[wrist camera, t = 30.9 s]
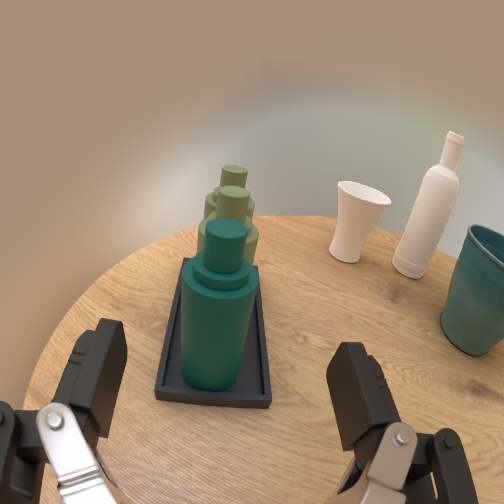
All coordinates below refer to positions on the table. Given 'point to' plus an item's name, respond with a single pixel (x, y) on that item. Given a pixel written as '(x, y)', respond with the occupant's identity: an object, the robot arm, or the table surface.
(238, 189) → the green bottle
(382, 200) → the cup
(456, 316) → the flower pot
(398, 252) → the bottle
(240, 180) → the green bottle
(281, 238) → the table surface
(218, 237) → the teal bottle
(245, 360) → the tray
